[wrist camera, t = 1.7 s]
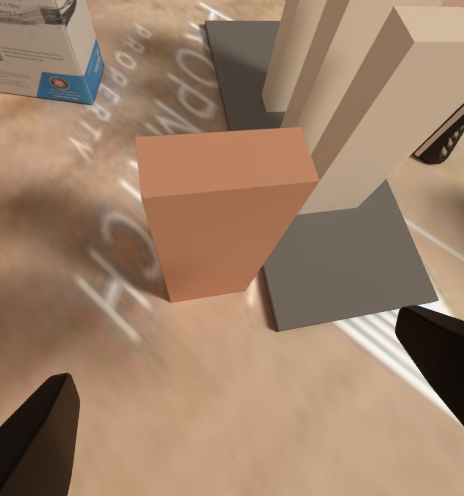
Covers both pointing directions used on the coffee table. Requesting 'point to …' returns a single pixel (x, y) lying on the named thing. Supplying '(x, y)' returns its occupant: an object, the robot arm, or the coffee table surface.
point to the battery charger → (443, 139)
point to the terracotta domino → (221, 203)
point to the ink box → (49, 50)
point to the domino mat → (318, 213)
